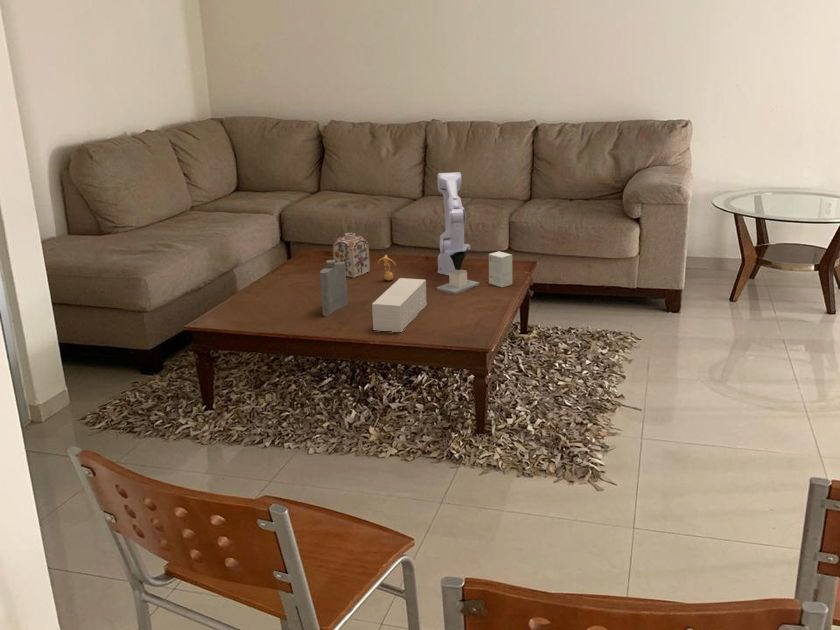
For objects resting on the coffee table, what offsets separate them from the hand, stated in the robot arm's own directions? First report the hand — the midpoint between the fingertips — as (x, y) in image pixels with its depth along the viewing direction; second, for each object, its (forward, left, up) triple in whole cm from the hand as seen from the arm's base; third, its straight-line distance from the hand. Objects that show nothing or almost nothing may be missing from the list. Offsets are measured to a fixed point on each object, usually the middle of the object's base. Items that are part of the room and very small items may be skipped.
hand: (457, 269), depth 368 cm
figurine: (-30, -11, -8) cm, 33 cm away
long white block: (+6, -42, -8) cm, 43 cm away
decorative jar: (-51, -12, -8) cm, 53 cm away
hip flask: (-21, -51, -8) cm, 56 cm away
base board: (0, 0, -8) cm, 8 cm away
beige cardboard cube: (0, 0, -7) cm, 7 cm away
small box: (+12, +14, -8) cm, 20 cm away
